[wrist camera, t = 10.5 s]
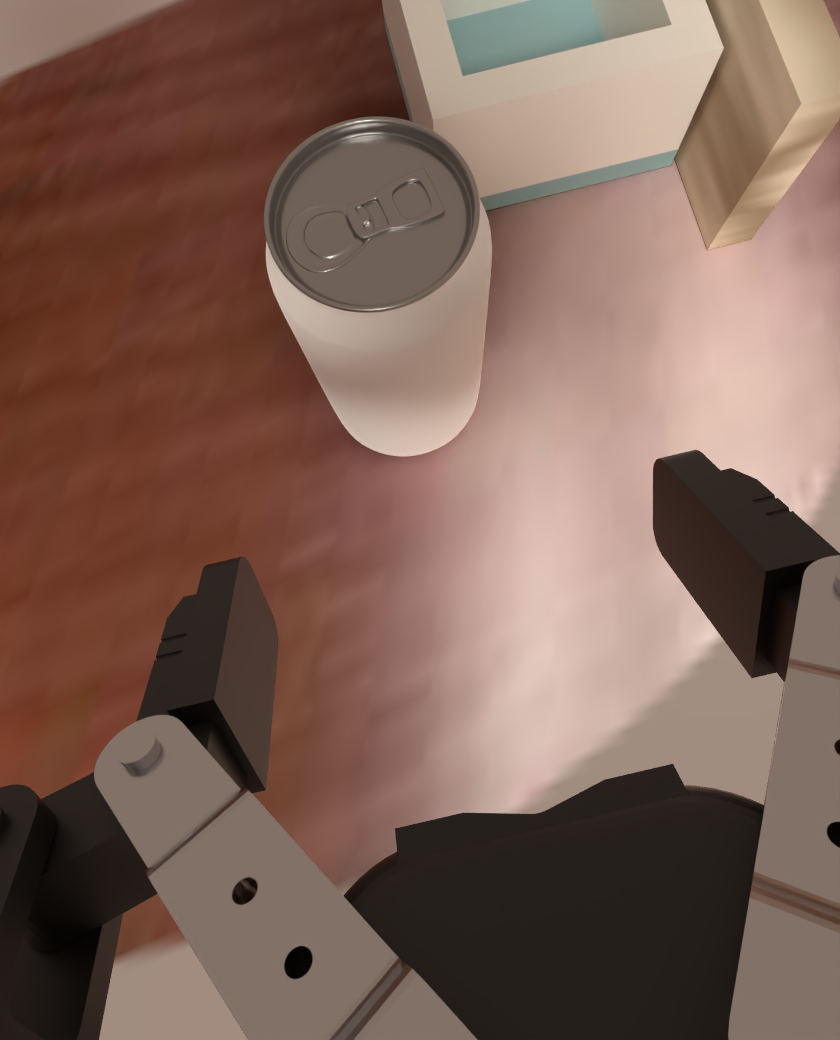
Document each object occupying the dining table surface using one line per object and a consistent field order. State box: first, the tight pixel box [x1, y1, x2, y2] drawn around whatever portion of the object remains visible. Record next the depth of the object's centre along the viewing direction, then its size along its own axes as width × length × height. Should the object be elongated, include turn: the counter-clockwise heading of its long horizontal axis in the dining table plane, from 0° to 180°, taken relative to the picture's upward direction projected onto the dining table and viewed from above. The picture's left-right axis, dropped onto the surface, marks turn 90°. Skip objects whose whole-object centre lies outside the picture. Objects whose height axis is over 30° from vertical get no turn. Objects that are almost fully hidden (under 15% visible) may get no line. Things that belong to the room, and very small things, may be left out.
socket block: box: [382, 0, 724, 211], centre depth 28 cm, size 11×11×6 cm
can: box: [264, 117, 492, 456], centre depth 23 cm, size 6×6×12 cm
